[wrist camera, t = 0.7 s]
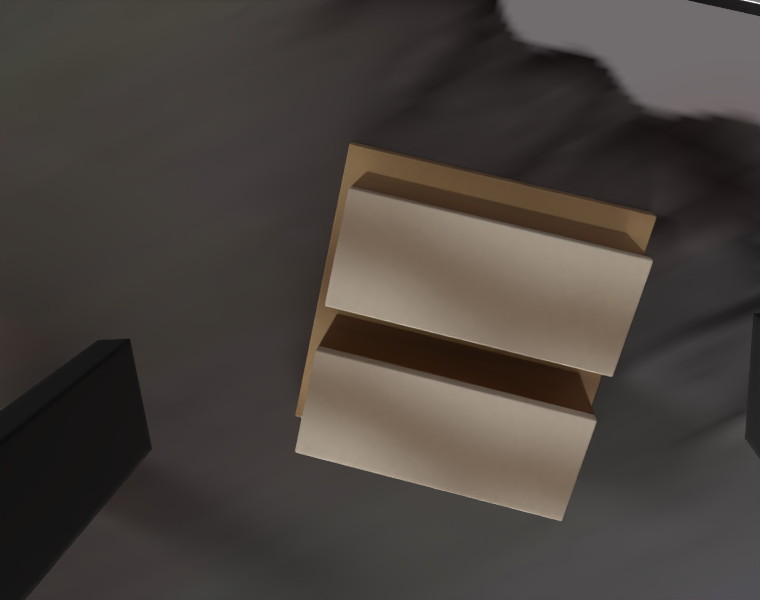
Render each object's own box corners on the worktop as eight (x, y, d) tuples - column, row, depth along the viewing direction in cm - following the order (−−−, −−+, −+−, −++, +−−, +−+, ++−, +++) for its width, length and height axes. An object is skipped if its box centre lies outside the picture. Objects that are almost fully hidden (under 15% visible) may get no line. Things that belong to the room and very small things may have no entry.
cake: (352, 141, 34) (328, 156, 28) (651, 212, 33) (689, 241, 27) (299, 407, 38) (268, 466, 32) (562, 474, 37) (577, 546, 32)
